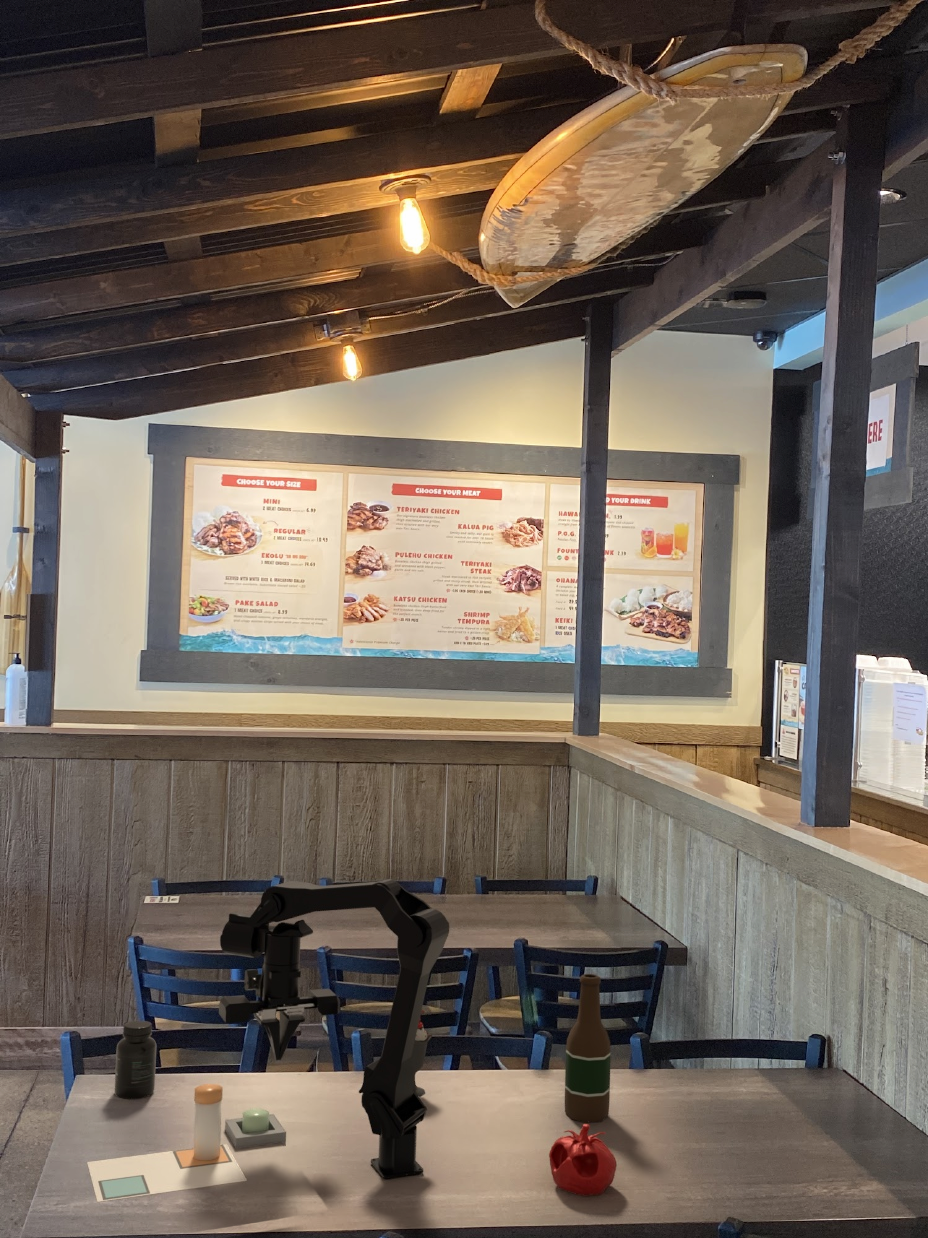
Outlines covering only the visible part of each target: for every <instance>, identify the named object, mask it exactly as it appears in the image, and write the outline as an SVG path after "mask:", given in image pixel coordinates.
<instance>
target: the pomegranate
mask: <svg viewBox="0 0 928 1238" xmlns="http://www.w3.org/2000/svg"><path fill="white" fill-rule="evenodd" d="M589 1130H590V1124H589V1123H584V1124H583V1125H582V1127H581V1129H580V1132H579V1134H578V1133H576V1132H575V1131H574V1130H570V1129H569V1130H565V1131H563V1133H567V1132H568V1133H570V1134H571V1135H565V1136H561V1137H559V1138H557V1139H555V1141H554V1142H553V1144H552V1146H551V1147H550V1150H549V1153H548V1157H549V1165H550V1171H551V1175H552V1179H553V1182H554V1183H555V1185H557V1187H558V1188H559V1189H561V1190H562V1191H564V1192H567V1193H568V1192H569V1193H572V1194H575V1195H578V1196H585V1197H586V1196H587V1197H588V1196H598V1195H601V1194H603V1193H604V1192H605V1190H606V1189H607V1188H608V1187H609V1186H611V1185H612V1183H613V1181H614V1178H615V1176H616V1175H615V1174H616V1171H617V1166H618V1165H617V1160H616V1157H615V1156H614V1154H613V1152H612V1151H611V1150H610V1149H609V1148H608V1146H607V1145H606V1144H605V1143H604V1140H601V1139H600V1138H598V1137H597V1136H599V1135H606V1132H597V1133H595V1134H592V1135H589Z"/></svg>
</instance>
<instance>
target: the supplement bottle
mask: <svg viewBox="0 0 928 1238" xmlns="http://www.w3.org/2000/svg"><path fill="white" fill-rule="evenodd" d="M152 1025H153V1023H151V1022H150V1021H147V1020H133V1021H128V1022H125V1023H124V1024H123V1027H122V1028H123V1029H122V1030H123V1032H122V1037H123V1038H121V1039H120V1040H119V1041H118V1042H117V1045H116V1053H115V1054H116V1057H115V1071H114V1072H115V1076H114V1093H115V1096H117V1097H118V1098H120V1099H123V1100H140V1099H144V1098H146V1097H149V1096H151V1095H153V1093H154V1092H155V1085H156V1083H155V1082H156V1066H157V1065H156V1064H157V1062H156V1061H157V1060H156V1059H157V1043H156V1042H157V1041H156V1040H155V1039H154V1038H153V1037H151V1036H152V1034H153V1032H152V1027H153V1026H152Z"/></svg>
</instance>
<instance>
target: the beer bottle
mask: <svg viewBox="0 0 928 1238" xmlns="http://www.w3.org/2000/svg"><path fill="white" fill-rule="evenodd" d="M579 983H580V991H579V1003H578V1013H577V1019H576V1022H575V1023H574V1025H573V1026H572V1027H571V1029H570V1030H569V1034H568V1036H567V1038H566V1047H565V1069H564V1070H565V1073H564V1074H565V1075H564V1076H565V1077H564V1079H565V1080H564V1112H565V1114H566V1115H567V1116H568V1118H570V1120H573V1121H576V1122H577V1121H578V1122H582V1123H584V1124H589V1123H591V1124H592V1123H601V1122H603V1121H604V1120H605V1119H606V1118H607V1117H608V1116H609V1112H610V1098H611V1097H610V1096H611V1095H610V1094H611V1093H610V1092H611V1091H610V1089H611V1055H612V1054H611V1051H612V1050H611V1048H612V1047H611V1040H610V1037H609V1034H608V1031H607V1030H606V1028H605V1026H604V1025H603V1023H602V1017H601V1004H600V1003H601V1001H600V1000H601V998H600V997H601V995H600V984H601V983H602V981H601V977H600V976H598V975H597V974H592V973H585V974H584V973H583V974H582V975H580V978H579Z"/></svg>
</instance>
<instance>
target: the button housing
mask: <svg viewBox="0 0 928 1238" xmlns="http://www.w3.org/2000/svg"><path fill="white" fill-rule="evenodd" d="M242 1119H243V1117H237V1118H228V1119H225V1120H224V1123H225V1124H224V1131H225V1132H226V1135H227V1136H228V1138H229V1140H231V1142H232V1145H233V1146H234V1148H235V1149H243V1148H249V1147H257V1146H266V1145H274V1144H280V1143H282V1144H283V1145H284V1146H285V1147H286V1145H287V1131H286V1130H285V1129H286V1128H284V1127H283V1125H282V1123H281V1122H280V1121H279V1119H278V1118H277V1117H276V1114H274V1113H272V1114H271V1113H269V1130H268V1131H262V1132H254V1133H246V1134H243V1133H242Z"/></svg>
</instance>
